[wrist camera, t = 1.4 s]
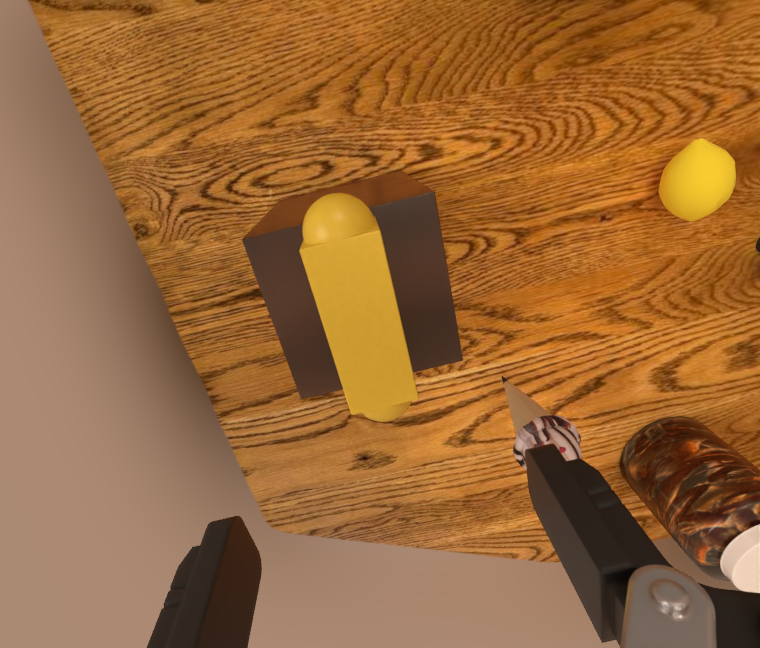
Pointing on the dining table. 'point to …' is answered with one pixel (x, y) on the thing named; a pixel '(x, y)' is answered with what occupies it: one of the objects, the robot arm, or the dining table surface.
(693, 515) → the jar
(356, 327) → the yellow ball-topped peg
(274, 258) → the block
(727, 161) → the lemon
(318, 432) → the dining table surface
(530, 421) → the ice cream cone
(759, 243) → the candle
